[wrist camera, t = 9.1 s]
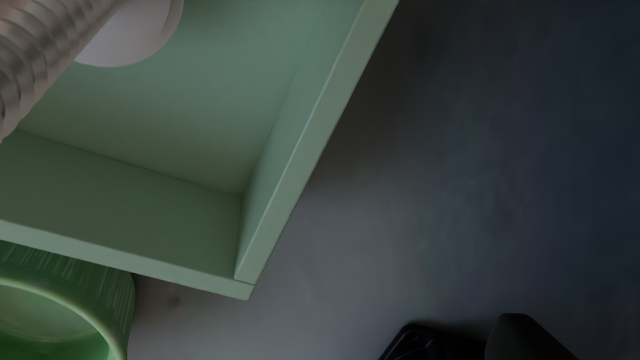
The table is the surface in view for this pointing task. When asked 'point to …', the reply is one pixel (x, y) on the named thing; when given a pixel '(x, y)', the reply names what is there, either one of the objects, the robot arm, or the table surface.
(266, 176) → the open square box
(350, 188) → the table surface
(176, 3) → the screw
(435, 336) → the robot arm
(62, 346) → the ramekin
